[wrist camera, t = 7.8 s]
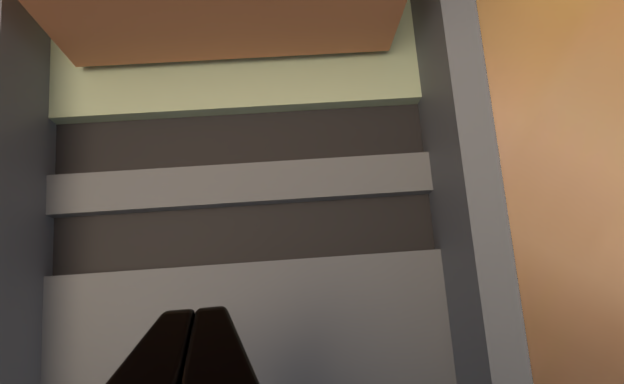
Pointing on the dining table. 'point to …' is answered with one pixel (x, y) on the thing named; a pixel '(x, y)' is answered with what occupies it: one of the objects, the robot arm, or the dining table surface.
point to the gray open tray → (260, 209)
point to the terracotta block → (213, 28)
